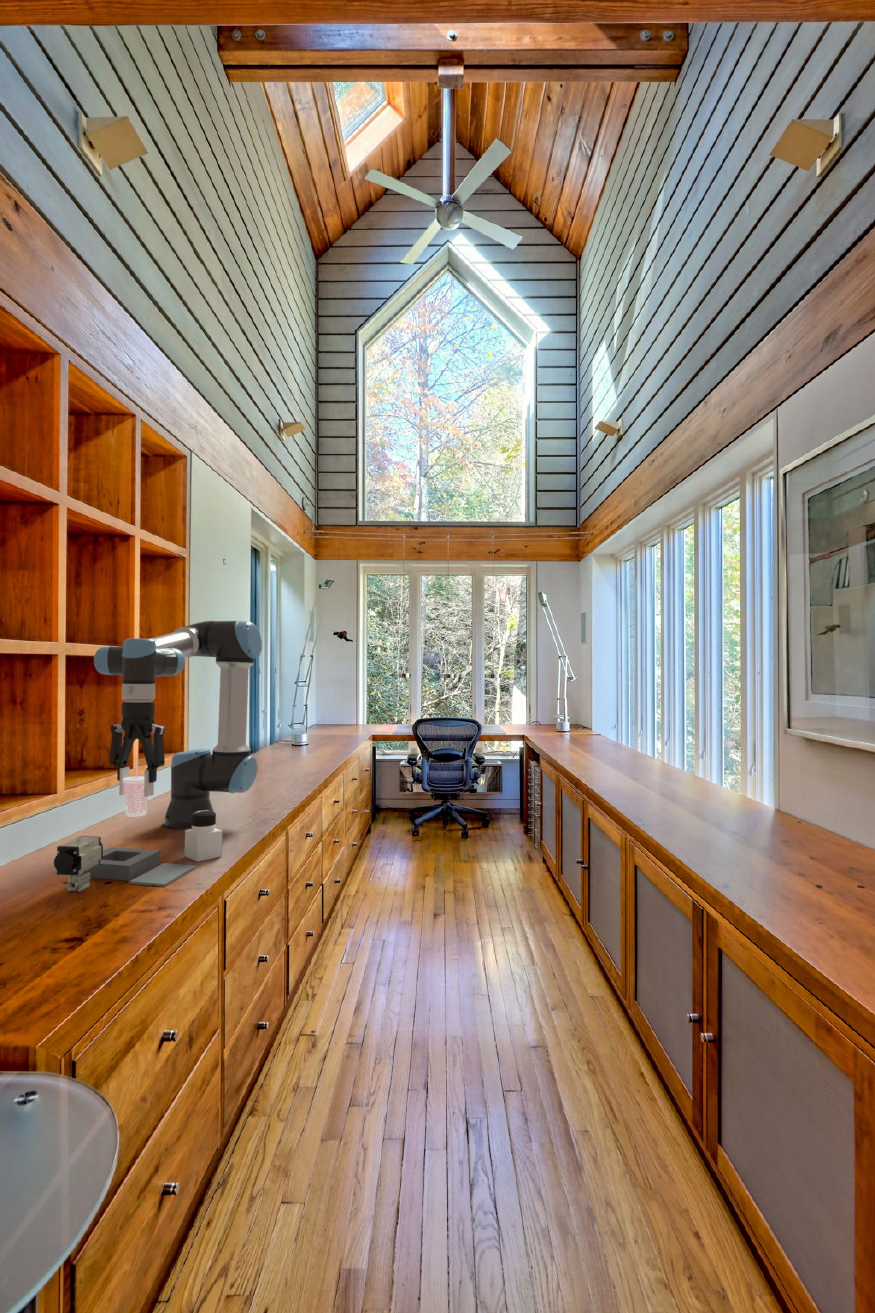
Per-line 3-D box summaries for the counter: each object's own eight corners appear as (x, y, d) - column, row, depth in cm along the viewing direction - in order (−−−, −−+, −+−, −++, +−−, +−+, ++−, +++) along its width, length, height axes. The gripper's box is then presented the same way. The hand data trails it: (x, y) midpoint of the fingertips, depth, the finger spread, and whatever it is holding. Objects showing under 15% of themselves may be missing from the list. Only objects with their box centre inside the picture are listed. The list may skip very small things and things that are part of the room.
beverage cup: (121, 818, 160) (122, 760, 160) (123, 812, 166) (124, 756, 166) (149, 816, 162) (150, 759, 162) (149, 811, 168) (151, 755, 168)
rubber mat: (163, 865, 170) (163, 863, 170) (196, 867, 168) (196, 865, 168) (129, 883, 156) (129, 881, 156) (165, 886, 154) (165, 884, 154)
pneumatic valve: (52, 898, 146) (53, 843, 146) (84, 880, 158) (85, 829, 158) (76, 899, 145) (77, 844, 146) (106, 881, 157) (107, 830, 157)
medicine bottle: (222, 857, 178) (223, 812, 178) (197, 862, 172) (197, 816, 172) (209, 851, 182) (209, 807, 183) (184, 856, 177) (184, 811, 177)
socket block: (110, 860, 173) (110, 846, 173) (160, 864, 171) (160, 850, 171) (75, 876, 160) (76, 861, 160) (128, 880, 158) (129, 865, 158)
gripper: (93, 700, 162) (91, 795, 162) (164, 703, 159) (162, 800, 158) (114, 699, 170) (112, 790, 169) (182, 701, 166) (180, 794, 166)
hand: (136, 794), depth 164 cm, fingers closed on beverage cup, 6 cm apart
